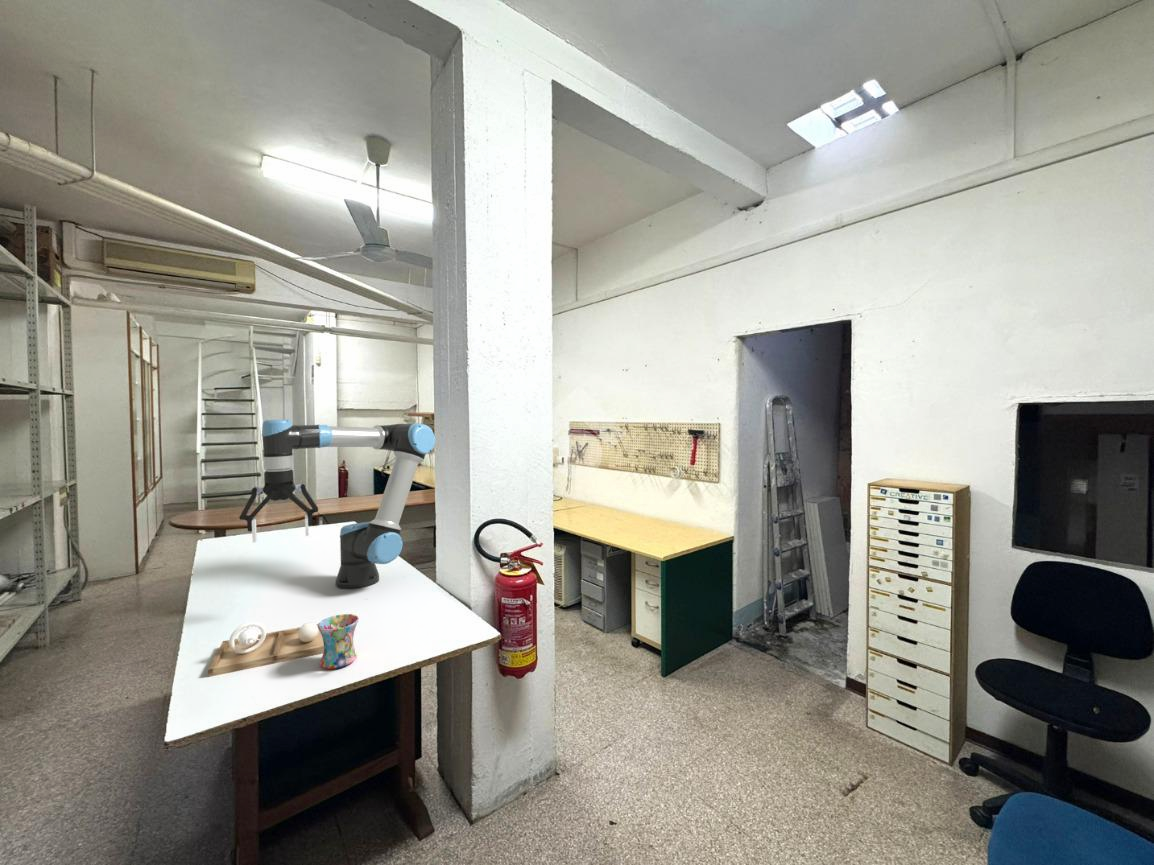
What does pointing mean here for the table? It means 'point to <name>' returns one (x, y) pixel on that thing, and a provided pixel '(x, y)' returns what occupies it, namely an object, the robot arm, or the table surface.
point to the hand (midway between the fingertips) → (281, 538)
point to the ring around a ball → (247, 637)
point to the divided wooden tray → (265, 652)
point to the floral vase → (338, 640)
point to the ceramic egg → (308, 632)
